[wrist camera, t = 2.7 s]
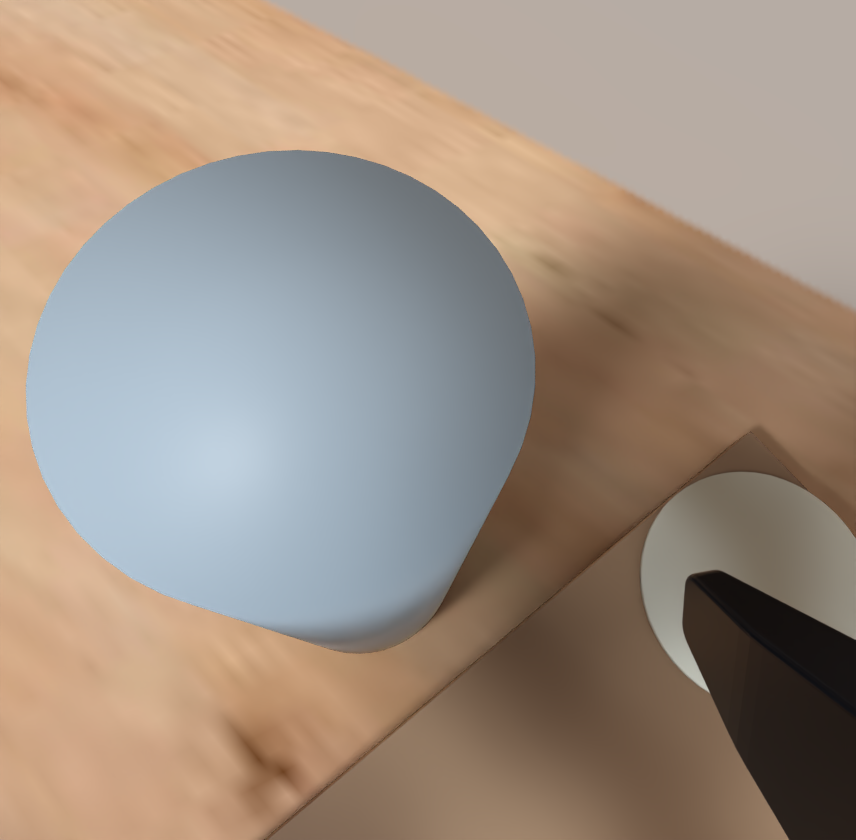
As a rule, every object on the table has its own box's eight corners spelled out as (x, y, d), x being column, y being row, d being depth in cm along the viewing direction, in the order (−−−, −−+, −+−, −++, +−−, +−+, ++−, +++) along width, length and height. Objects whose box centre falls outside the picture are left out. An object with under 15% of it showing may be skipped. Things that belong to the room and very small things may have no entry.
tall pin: (339, 695, 18) (206, 740, 6) (231, 540, 19) (-65, 312, 7) (490, 573, 19) (639, 398, 7) (379, 433, 21) (342, 79, 8)
